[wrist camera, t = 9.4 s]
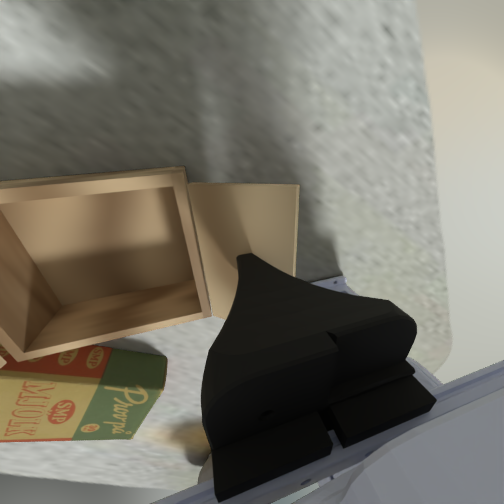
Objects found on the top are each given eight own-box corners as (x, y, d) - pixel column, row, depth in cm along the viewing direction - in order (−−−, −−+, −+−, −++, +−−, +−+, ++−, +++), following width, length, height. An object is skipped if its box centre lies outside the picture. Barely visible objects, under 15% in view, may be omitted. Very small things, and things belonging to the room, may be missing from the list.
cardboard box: (184, 165, 15) (182, 172, 11) (206, 279, 19) (211, 316, 15) (-21, 182, 12) (-133, 200, 8) (61, 307, 17) (17, 362, 13)
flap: (187, 183, 10) (193, 182, 11) (213, 315, 15) (217, 310, 15) (296, 186, 8) (299, 184, 8) (290, 341, 12) (292, 335, 13)
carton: (-34, 318, 16) (-102, 370, 12) (170, 353, 23) (167, 392, 19) (-52, 388, 18) (-115, 451, 14) (141, 400, 25) (132, 444, 21)
